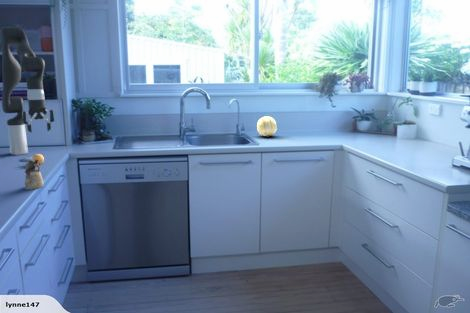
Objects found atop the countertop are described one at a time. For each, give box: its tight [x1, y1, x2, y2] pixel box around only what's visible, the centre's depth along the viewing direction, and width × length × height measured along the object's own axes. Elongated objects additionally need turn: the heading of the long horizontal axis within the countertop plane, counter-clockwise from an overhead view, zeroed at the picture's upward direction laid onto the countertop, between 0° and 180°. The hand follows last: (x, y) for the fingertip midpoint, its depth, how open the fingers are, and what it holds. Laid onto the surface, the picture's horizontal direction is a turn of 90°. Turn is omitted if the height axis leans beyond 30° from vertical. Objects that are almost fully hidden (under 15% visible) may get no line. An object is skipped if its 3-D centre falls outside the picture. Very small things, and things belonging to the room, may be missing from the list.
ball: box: [32, 153, 45, 165], centre depth 222 cm, size 6×6×6 cm
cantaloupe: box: [256, 115, 278, 138], centre depth 308 cm, size 15×15×15 cm
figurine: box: [23, 159, 44, 190], centre depth 178 cm, size 7×7×12 cm
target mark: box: [19, 156, 33, 163], centre depth 235 cm, size 12×12×1 cm
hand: (39, 131), depth 211 cm, fingers open, 8 cm apart
